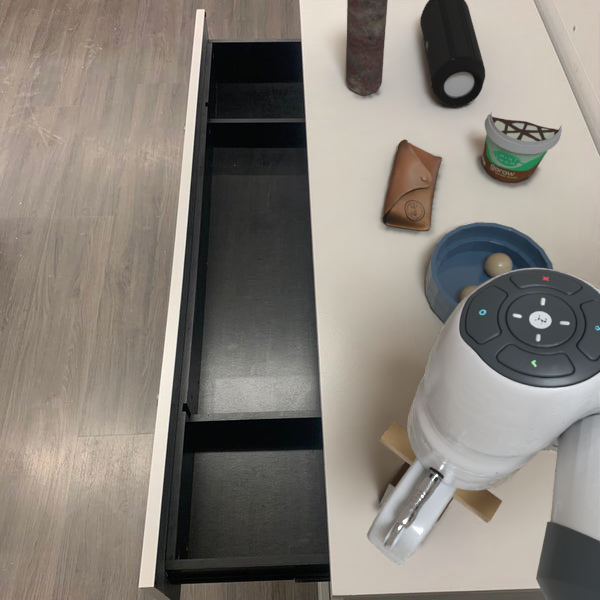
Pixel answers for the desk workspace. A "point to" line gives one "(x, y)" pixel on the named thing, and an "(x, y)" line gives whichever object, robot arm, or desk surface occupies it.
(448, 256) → the bowl
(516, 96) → the desk surface
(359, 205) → the desk surface
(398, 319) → the desk surface
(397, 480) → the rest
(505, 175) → the food container
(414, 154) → the sunglasses case
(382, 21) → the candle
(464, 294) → the ball
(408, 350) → the desk surface
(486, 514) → the tan wooden bar
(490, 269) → the ball
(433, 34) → the portable speaker
